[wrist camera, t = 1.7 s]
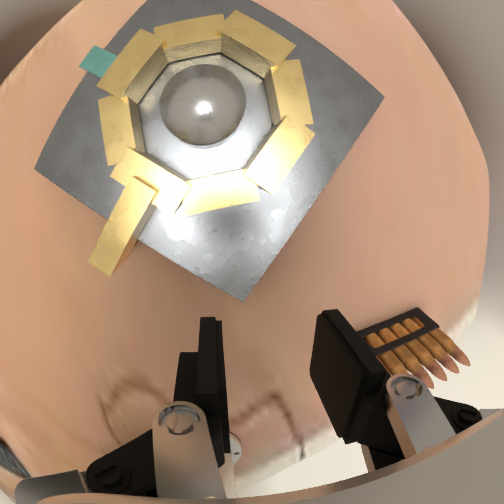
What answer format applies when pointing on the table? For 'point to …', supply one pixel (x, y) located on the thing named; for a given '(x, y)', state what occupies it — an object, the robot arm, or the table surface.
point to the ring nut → (160, 175)
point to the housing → (212, 142)
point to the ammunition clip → (413, 346)
